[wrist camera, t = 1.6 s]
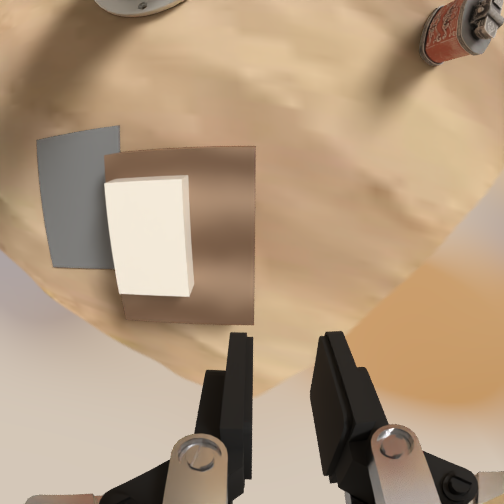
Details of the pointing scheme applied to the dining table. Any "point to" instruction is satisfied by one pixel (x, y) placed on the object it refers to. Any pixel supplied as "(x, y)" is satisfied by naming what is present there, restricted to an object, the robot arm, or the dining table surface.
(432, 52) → the lighter
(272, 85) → the dining table surface
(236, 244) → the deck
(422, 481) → the robot arm
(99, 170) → the mat
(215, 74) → the dining table surface
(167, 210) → the tile
